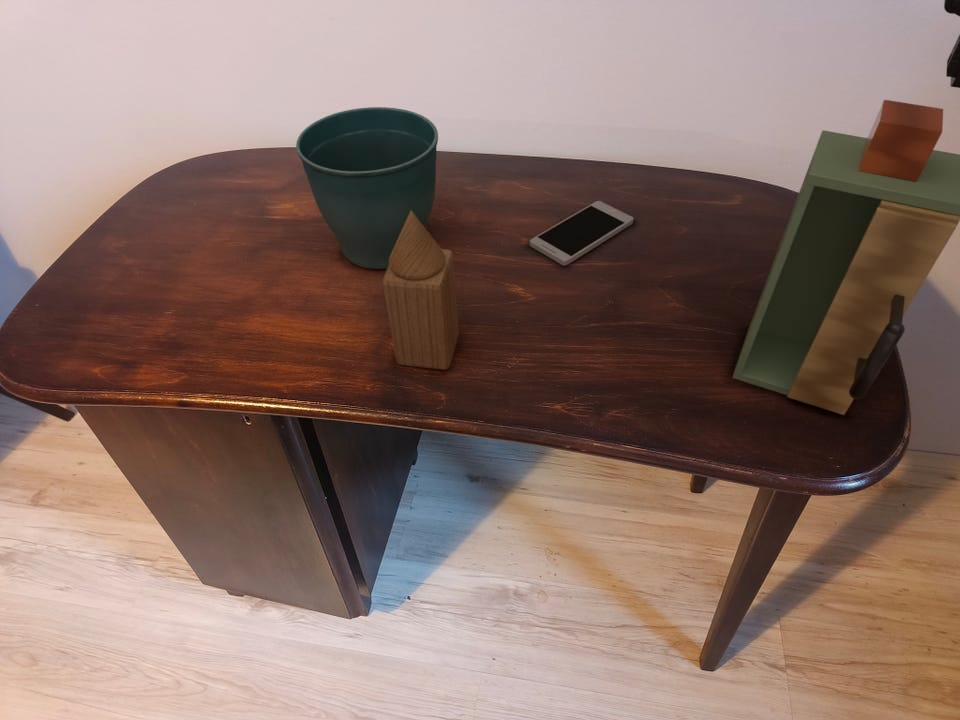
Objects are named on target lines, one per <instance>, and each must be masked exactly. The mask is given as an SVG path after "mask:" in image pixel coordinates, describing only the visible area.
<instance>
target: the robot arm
mask: <svg viewBox="0 0 960 720" xmlns="http://www.w3.org/2000/svg"><path fill="white" fill-rule="evenodd" d="M943 8H944V11H945V12H946V13H948V14H951V15H955V16H958V17H960V0H944V2H943ZM945 73H946V75H945V76H946V77H947V78H950V83H949V84H950V86H949V87H951V88H957V89H960V34H959V35H958V37H957V39H956V41H955V43H954V46H953V48H952V50H951V51H950V54H949V56H948V58H947V60H946V71H945Z"/></svg>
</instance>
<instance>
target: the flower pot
mask: <svg viewBox="0 0 960 720" xmlns="http://www.w3.org/2000/svg"><path fill="white" fill-rule="evenodd" d="M438 141H439V132H438V129H437V127H436V125H435V124H434V123H433V122H432V121H431V120H430V119H429V118H427V117H425V116H424V115H421V114H419V113H418V112H414V111H411V110H407V109H401V108H396V107H383V106H382V107H381V106H372V107H371V106H370V107H360V108H352V109H347V110H343V111H338V112H335V113H332V114H330V115H327V116H324V117H322V118H320V119H318V120H316V121H314V122H313V123H311V124H309V125H308V126H307V127H306V128H305V129H303V130H302V132H301V133H300V134H299V136H298V137H297V139H296V142H295V143H296V145H295V147H296V148H295V149H296V152H297V155H298V157H299V159H300V160H301V163H302V166H303V169H304V173H305V175H306V177H307V181H308V183H309V186H310V190H311V192H312V196H313V199H314V201H315V205H316V207H317V209H318V210H319V212H320V214H321V216H322V218H323V220H324V221H325V223H326V224H327V226H328V228H329V229H330V230H331V232H332V233H333V235H334V236H335V238H336V240H337V241H338V242H339V244H340V247H341V252H342V255H343V256H344V257H345V258H346V259H347V260H348V261H349V263H352V264H354V265H356V266H358V267H361V268H364V269H371V270H384V269H386V270H387V268H388V266H389V258H390V255H391V253H392V250H393V248H394V246H395V244H396V242H397V239H398V237H399V235H400V233H401V231H402V228H403V226H404V224H405V222H406V220H407V217H408V215H409V213H410V211H412V212H413V213H414V214H415V216H416V217H417V218H418V220H419V221H420V222H421V223H422V225H423V226H424V227H425V229H426V230H427V225H428V221H429V219H430V215H431V213H432V209H433V205H434V200H435V193H436V175H437V168H436V167H437V162H436V161H437V145H438Z"/></svg>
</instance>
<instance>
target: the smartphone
mask: <svg viewBox="0 0 960 720" xmlns="http://www.w3.org/2000/svg"><path fill="white" fill-rule="evenodd" d="M633 223H634V217H633V216H632V215H630V214H627V213H625V212H624V211H621V210H620V209H618V208H615V207H613V206H611V205H609V204H608V203H605V202H603V201H601V200H596V201H594V202H592V203H591V204H589V205H588V206H586V207H584V208H582V209H580V210H578V211H577V212H575V213H573V214H572V215H569V216H568V217H566V218H565V219H563V220H562V221H559V223H556V224H554V225H553V226H551V227H549V228H548V229H546V230H544V231H543V232H541V233H539V234H537V235H536V236H534V237H532V238H530V240H529V247H531V248H533V249H534V250H536V251H538V252H539V253H541V254H543V255H545V256H546V257H548V258H550V259H551V260H553V261H555V262H556V263H558V264H559V265H562V266H568V265H570V264H571V263H573V262H574V261H576V260H577V259H578V258H580V257H582V256H585V254H587V253H589V252H590V251H592V250H593V249H595V248H596V247H598V246H600V245H601V244H603V243H604V242H606V241H608V240H609V239H610V238H612V237H614V236H616V235H617V234H618V233H620V232H622V231H624V230H625V229H626V228H628V227H630V226H632V225H633Z"/></svg>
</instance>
